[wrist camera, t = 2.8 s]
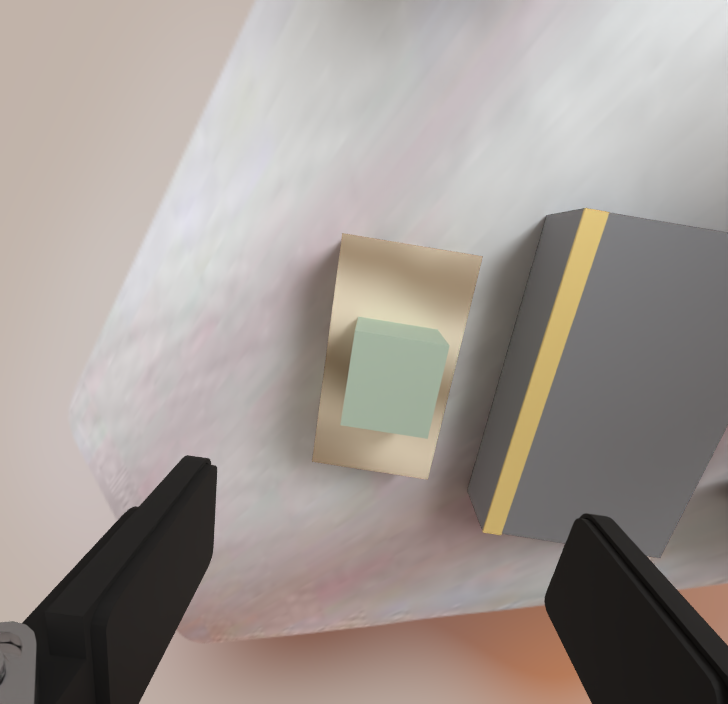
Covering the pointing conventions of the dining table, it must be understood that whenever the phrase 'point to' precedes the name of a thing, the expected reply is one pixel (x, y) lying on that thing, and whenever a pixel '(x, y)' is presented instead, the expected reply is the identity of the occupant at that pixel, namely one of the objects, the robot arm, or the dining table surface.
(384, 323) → the box
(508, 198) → the dining table surface
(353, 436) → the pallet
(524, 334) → the dock
